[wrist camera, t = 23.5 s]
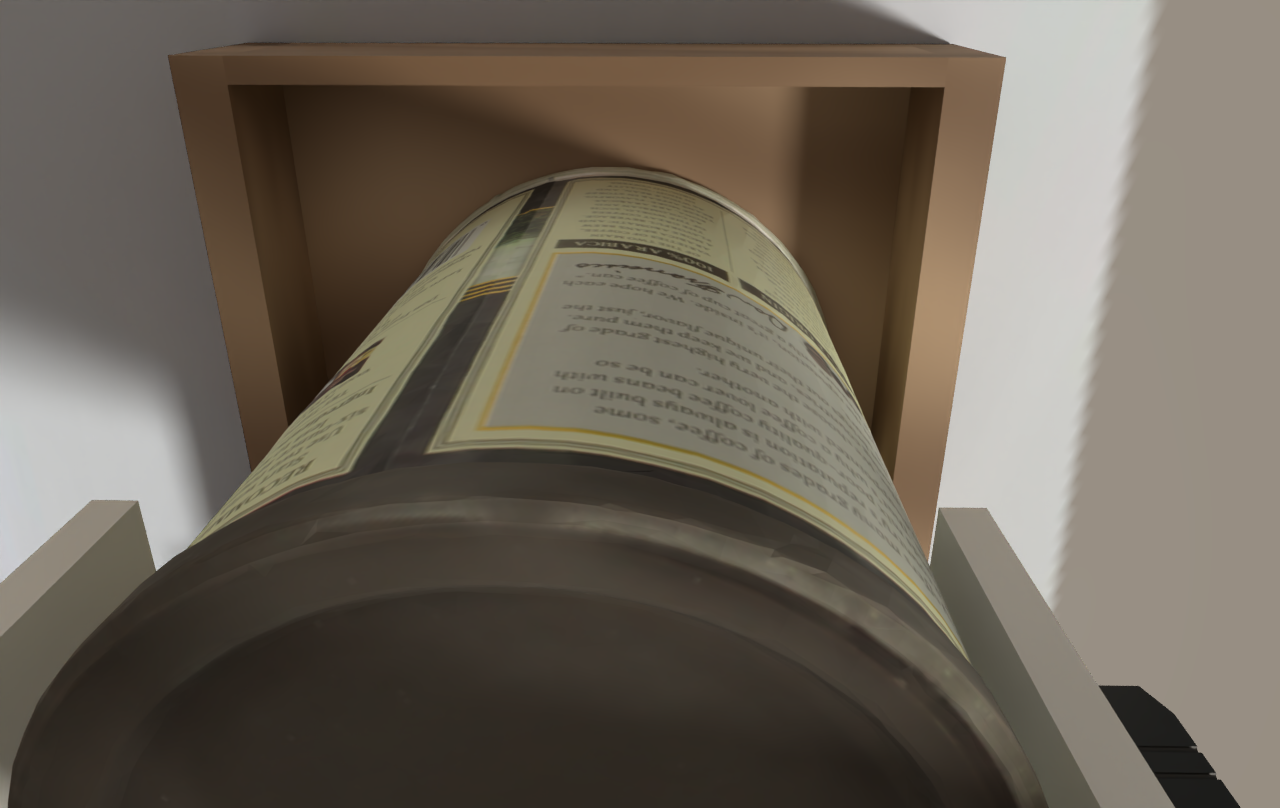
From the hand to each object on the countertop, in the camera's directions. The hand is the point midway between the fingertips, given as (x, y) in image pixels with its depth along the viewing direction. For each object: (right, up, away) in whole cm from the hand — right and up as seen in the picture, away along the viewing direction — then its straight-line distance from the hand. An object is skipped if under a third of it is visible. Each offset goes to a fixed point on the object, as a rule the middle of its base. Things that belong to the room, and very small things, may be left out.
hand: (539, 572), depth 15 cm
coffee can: (+1, +3, +7) cm, 8 cm away
